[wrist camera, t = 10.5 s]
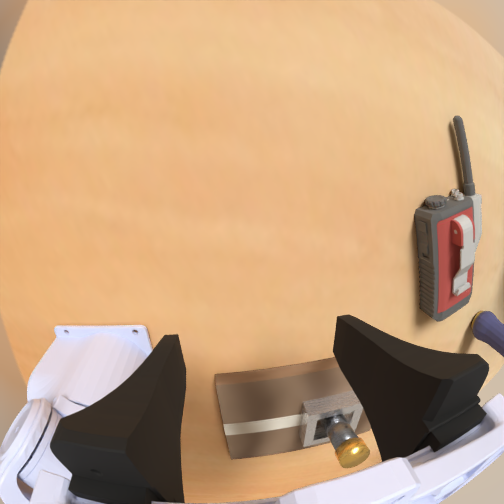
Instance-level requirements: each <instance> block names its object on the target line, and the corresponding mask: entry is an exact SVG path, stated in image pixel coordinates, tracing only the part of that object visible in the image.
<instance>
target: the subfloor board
mask: <svg viewBox="0 0 504 504" xmlns="http://www.w3.org/2000/svg"><path fill="white" fill-rule="evenodd" d="M215 381H216V390H217V395H218V400H219V405H220V410H221V415H222V420H223V425H224V430H225V435H226V439H227V443H228V448H229V452H230V456H231V459H241V458H251V457H259V456H266V455H273V454H279V453H285V452H290V451H296V450H300V449H305V448H310V447H314V446H318V445H323V444H326V443H330V442H331V441H327V442H323V443H319V444H315V445H310V446H306V447H303V444H302V441H301V438H300V435H299V430H300V425H301V417H302V406H303V402H305V401H310V400H314V399H319V398H324V397H328V396H332V395H336V394H340V393H344V392H348V391H352V390H353V389H352V388H351V386H350V384H349V383H348V381H347V379H346V378H345V376H344V374H343V373H342V371H341V369H340V367H339V365H338V363H337V360H336V358H335V357H333V358H328V359H323V360H318V361H313V362H307V363H302V364H296V365H290V366H283V367H276V368H269V369H261V370H253V371H244V372H235V373H224V374H215ZM343 415H344V413H343ZM317 425H321V422H320V420H317ZM317 425H316V426H317ZM370 429H371V426H370V423H369V421H368V418H367V416H366V414H365V411H364V409H363V410H362V413H361V416H360V419H359V422H358V424H357V427H356V430H355V433H356V435H358V434H361V433H364V432H367V431H370Z"/></svg>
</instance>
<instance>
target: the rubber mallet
mask: <svg viewBox="0 0 504 504" xmlns="http://www.w3.org/2000/svg"><path fill="white" fill-rule="evenodd" d="M471 328H472V330H473V334H474V336H475V337H476V338H477V339H478V340H481V341H483V342H485V343H487V344H489V345H490V346H491V347H492V348H494V349H495V350H496V351H497V352H499V353H500V354H501V355H502V356H503V357H504V324H503V323H501V322H500V321H499V320H498V319H497V318H496V316H495V315H494V314H493V313H492V312H490V311H480V312H478V313H477V315H476V316H475V317H474V319H473V321H472V325H471Z"/></svg>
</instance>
